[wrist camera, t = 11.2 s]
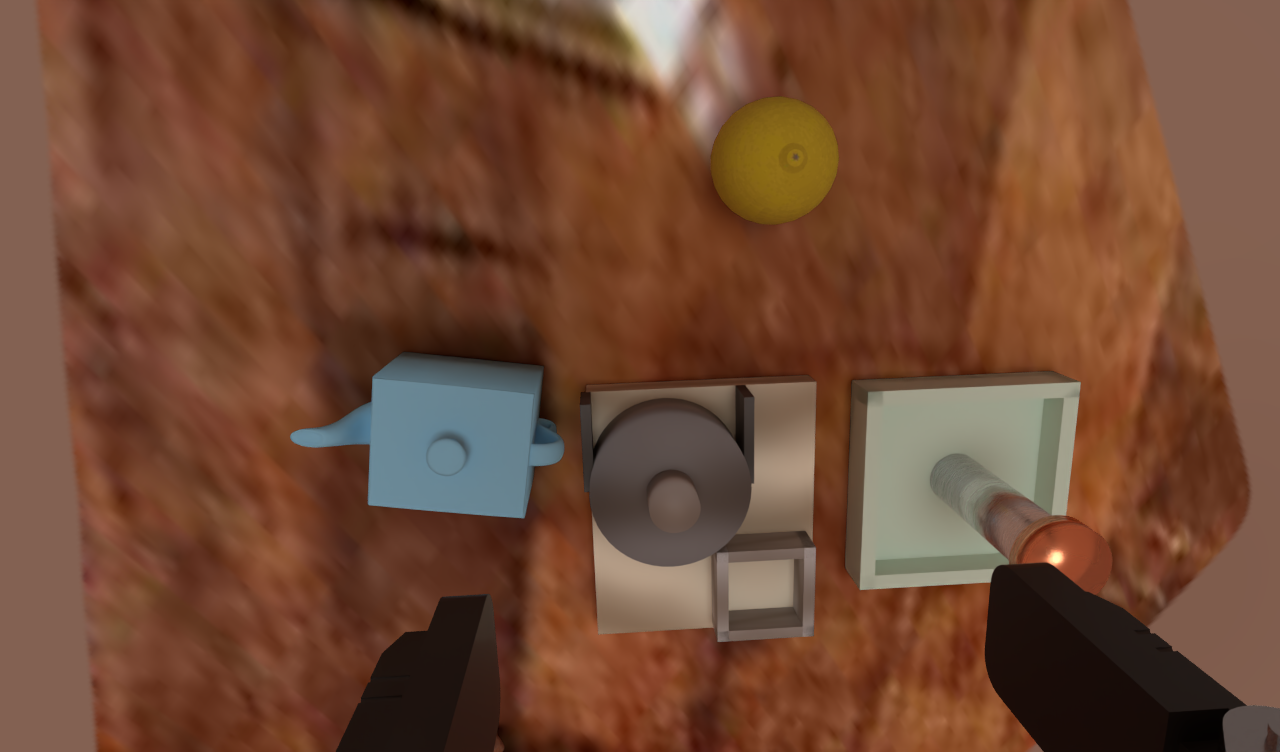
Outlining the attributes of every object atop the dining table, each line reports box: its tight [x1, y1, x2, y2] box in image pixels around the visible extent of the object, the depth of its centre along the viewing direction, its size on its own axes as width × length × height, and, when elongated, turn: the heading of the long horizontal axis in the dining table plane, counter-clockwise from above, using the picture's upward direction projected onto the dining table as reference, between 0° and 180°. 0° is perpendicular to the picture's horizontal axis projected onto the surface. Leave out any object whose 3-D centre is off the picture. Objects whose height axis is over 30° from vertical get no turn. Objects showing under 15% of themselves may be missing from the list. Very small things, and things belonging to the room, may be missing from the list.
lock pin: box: [930, 454, 1112, 595], centre depth 36 cm, size 4×4×10 cm
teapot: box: [290, 352, 564, 518], centre depth 36 cm, size 12×6×8 cm, turn 83°
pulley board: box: [580, 375, 816, 642], centre depth 38 cm, size 14×12×6 cm
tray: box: [845, 371, 1081, 590], centre depth 41 cm, size 11×11×2 cm
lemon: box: [711, 96, 839, 225], centre depth 34 cm, size 6×6×8 cm
